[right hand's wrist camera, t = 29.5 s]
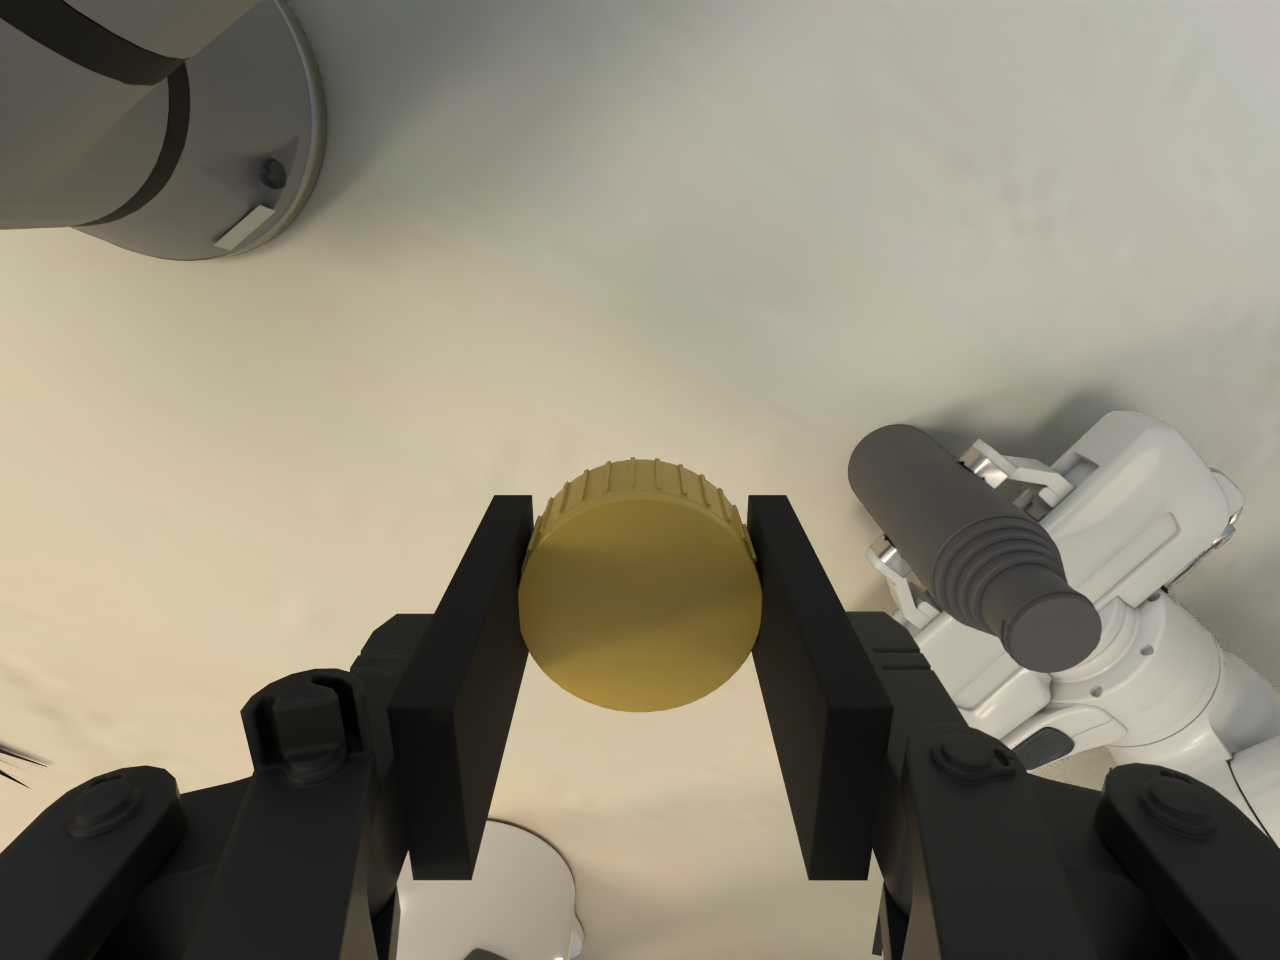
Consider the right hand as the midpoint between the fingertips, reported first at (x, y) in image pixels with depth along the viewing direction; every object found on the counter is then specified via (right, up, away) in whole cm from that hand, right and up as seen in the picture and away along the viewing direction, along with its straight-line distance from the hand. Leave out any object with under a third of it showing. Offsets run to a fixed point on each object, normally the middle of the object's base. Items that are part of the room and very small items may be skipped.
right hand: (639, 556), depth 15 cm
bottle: (+15, +2, +28) cm, 32 cm away
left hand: (+14, +1, +22) cm, 26 cm away
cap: (0, -1, -2) cm, 2 cm away
